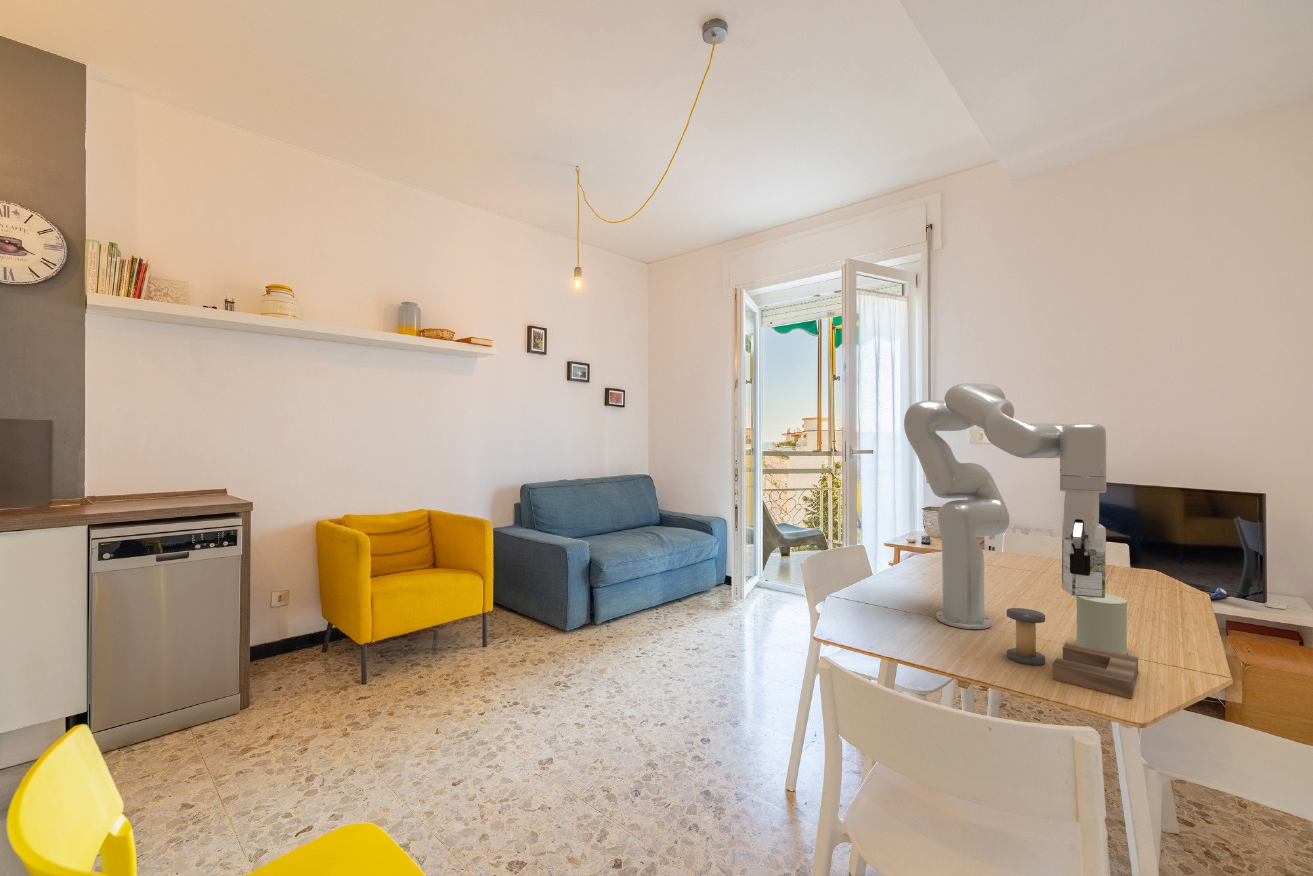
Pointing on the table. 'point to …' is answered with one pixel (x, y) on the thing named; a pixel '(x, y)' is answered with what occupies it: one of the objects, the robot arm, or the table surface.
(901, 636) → the table surface
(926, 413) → the robot arm
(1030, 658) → the gray-flanged bobbin
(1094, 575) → the syrup box
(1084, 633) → the can
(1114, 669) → the notched board
